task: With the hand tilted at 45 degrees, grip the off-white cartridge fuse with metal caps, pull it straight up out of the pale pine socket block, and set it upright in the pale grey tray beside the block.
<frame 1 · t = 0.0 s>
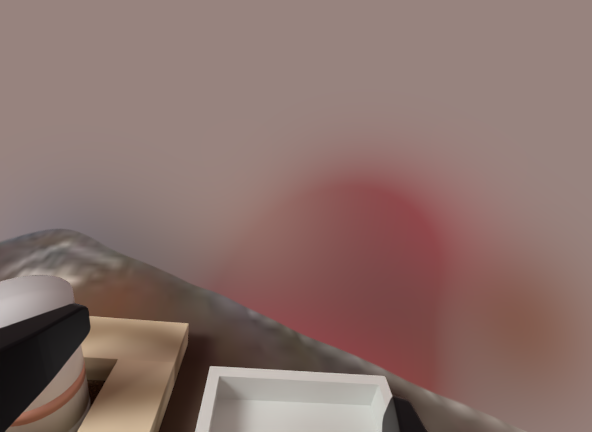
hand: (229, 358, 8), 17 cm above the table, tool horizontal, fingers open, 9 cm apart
socket block: (47, 422, 21), on the table
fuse: (33, 368, 19), in the socket block
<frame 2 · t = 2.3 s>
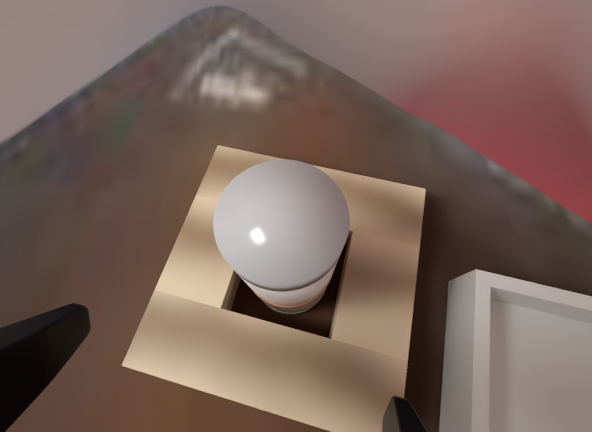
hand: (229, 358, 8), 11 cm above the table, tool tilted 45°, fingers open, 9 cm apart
socket block: (291, 276, 21), on the table
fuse: (287, 255, 16), in the socket block
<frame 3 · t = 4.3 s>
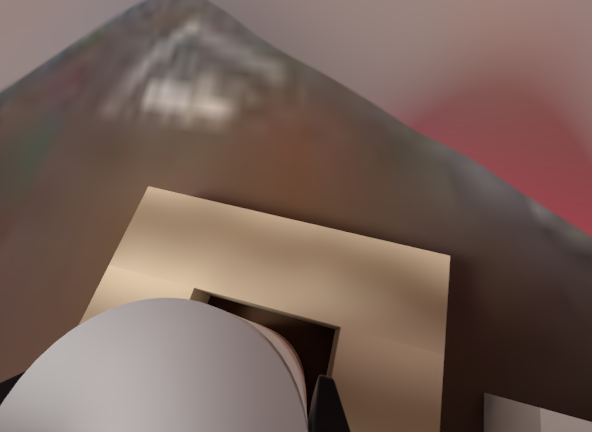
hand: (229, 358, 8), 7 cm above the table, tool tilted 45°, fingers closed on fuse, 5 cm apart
socket block: (251, 384, 14), on the table
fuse: (224, 405, 9), in the socket block, touching gripper
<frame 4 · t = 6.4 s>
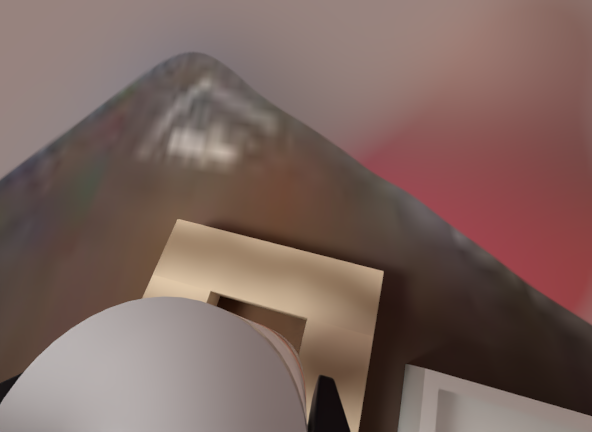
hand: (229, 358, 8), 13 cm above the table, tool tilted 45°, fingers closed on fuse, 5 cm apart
socket block: (248, 356, 21), on the table
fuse: (224, 404, 9), point 12 cm above the table, touching gripper
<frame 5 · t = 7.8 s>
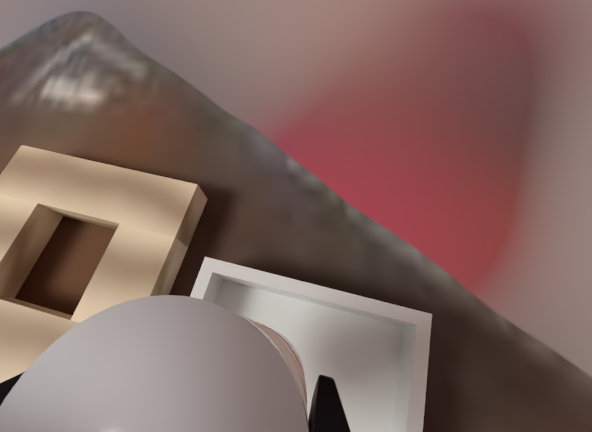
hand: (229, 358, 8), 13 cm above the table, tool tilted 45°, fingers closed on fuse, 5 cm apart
socket block: (78, 265, 22), on the table
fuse: (225, 403, 9), point 11 cm above the table, touching gripper
tray: (286, 403, 19), on the table
when the fingers open (9 cm above the table, at t = 8.9 s): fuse drops 1 cm, resting on tray.
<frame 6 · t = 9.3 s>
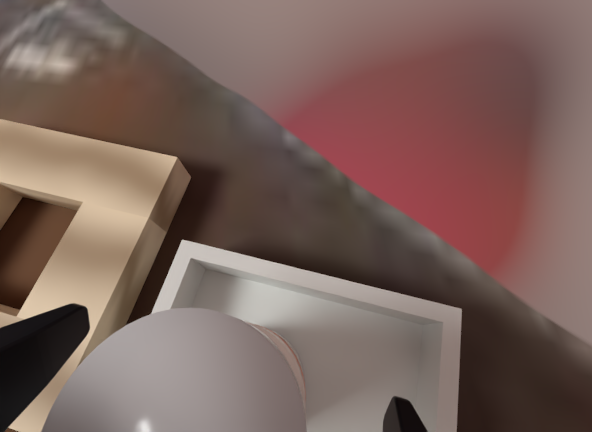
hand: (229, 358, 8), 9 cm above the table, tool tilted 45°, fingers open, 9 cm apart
socket block: (37, 253, 19), on the table
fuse: (232, 399, 10), in the tray, point 6 cm above the table
tray: (281, 419, 15), on the table
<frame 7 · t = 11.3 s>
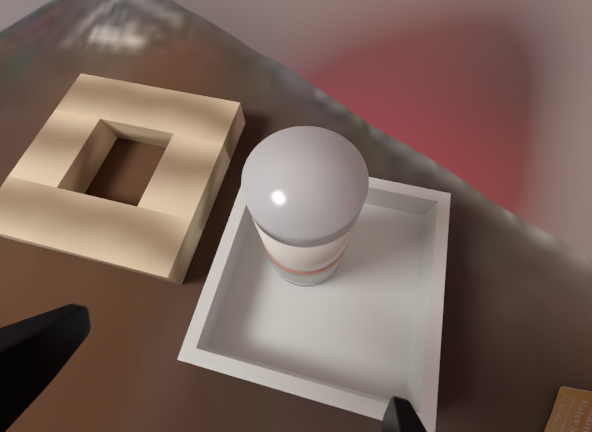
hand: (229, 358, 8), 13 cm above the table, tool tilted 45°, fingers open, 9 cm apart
socket block: (134, 176, 25), on the table
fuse: (305, 225, 17), in the tray, point 6 cm above the table
tray: (323, 279, 22), on the table
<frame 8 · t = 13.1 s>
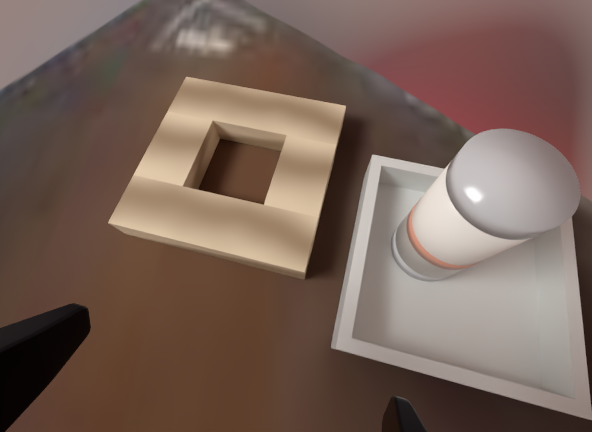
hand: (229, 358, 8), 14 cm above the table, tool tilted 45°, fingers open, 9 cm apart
socket block: (242, 175, 26), on the table
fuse: (458, 221, 18), in the tray, point 6 cm above the table
tray: (440, 275, 23), on the table
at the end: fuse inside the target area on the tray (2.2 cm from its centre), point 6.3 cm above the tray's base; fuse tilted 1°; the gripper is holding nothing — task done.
